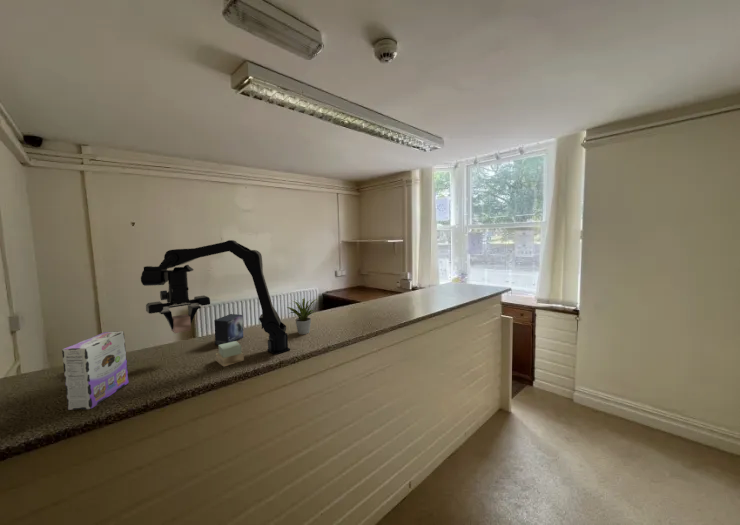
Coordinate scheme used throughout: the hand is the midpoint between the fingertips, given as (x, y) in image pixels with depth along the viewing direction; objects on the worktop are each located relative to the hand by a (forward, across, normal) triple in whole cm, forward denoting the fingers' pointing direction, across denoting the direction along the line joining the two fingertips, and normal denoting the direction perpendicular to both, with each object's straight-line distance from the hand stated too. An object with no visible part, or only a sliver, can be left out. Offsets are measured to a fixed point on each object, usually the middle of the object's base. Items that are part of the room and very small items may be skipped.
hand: (181, 327), depth 107 cm
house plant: (+12, -48, +6) cm, 50 cm away
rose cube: (+1, 0, 0) cm, 1 cm away
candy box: (+12, +23, +12) cm, 29 cm away
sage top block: (+9, -11, +14) cm, 20 cm away
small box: (+12, -19, -7) cm, 24 cm away
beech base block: (+12, -11, +14) cm, 22 cm away
